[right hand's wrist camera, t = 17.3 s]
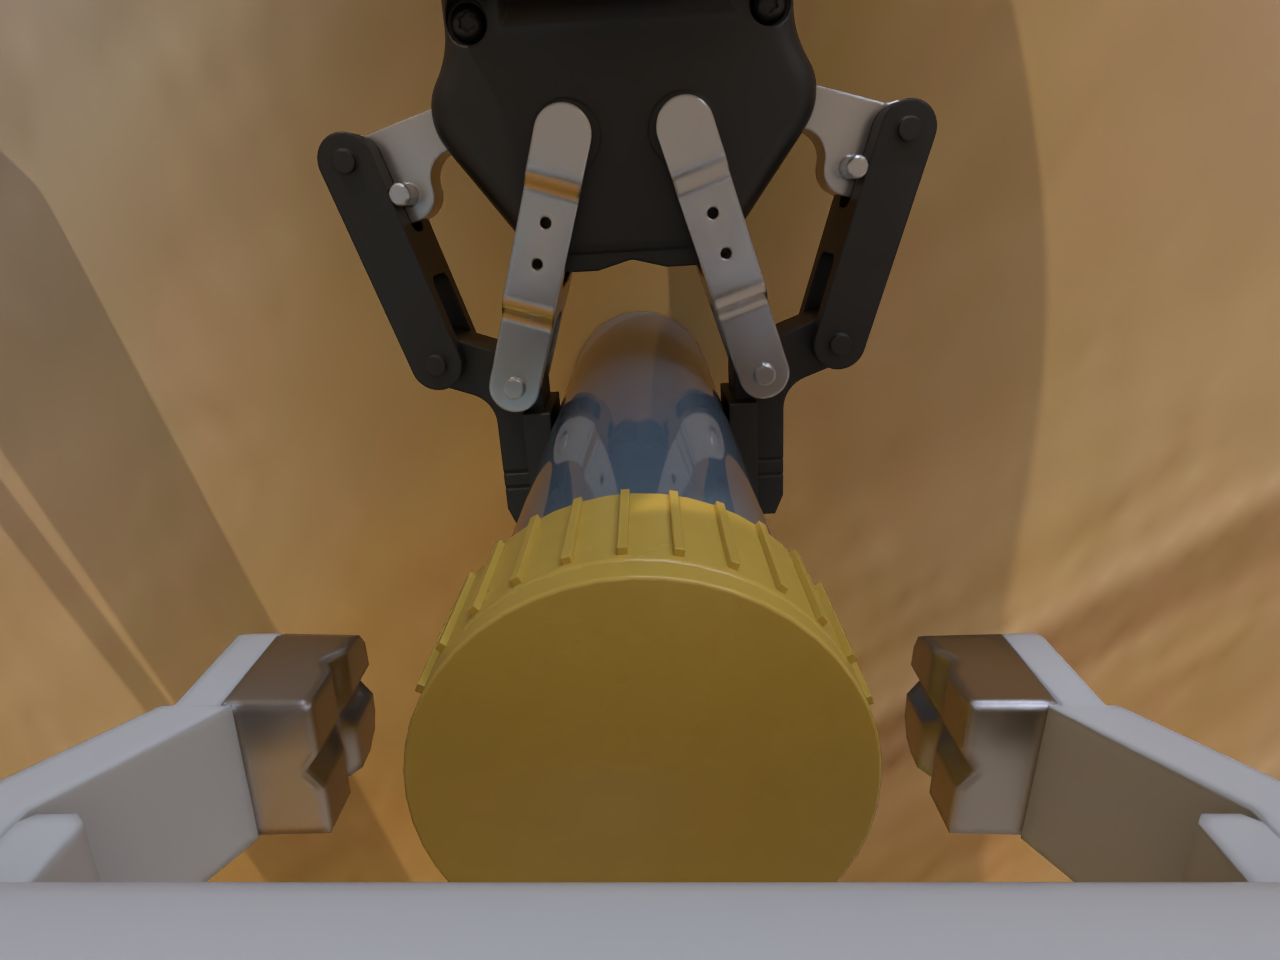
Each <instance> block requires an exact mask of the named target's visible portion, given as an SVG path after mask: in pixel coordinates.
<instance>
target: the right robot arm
mask: <svg viewBox="0 0 1280 960" xmlns="http://www.w3.org/2000/svg"><path fill="white" fill-rule="evenodd" d="M368 665H369V662H368V657H367V651H366V645H365V642H364V641H363V639H362V638H361V637H360V636H359V635H322V634H281V633H262V634H244V635H239V636H237V637H236V638H235V640H234V641H233V642H232V643H231V644H230V645H229V646H228V647H227V648H226V649H225V650H224V652H223V653H222V654H221V655H220V656H219V657H218V658H217V659H216V660H215V661H214V663H213V664H212V665H211V666H210V667H209V668H208V669H207V670H206V671H205V672H204V673H203V675H202V676H201V677H200V678H199V679H198V680H197V681H196V682H195V683H194V684H193V685H192V687H191V688H190V689H189V690H188V691H187V692H186V693H185V694H184V695H183V696H182V697H181V699H180V700H179V701H178V702H177V703H176V704H175V705H174V706H160V707H157V708H155V709H153V710H151V711H149V712H147V713H144V714H142V715H140V716H138V717H136V718H134V719H132V720H129V721H127V722H125V723H123V724H121V725H119V726H116V727H114V728H112V729H110V730H108V731H106V732H104V733H101V734H99V735H97V736H95V737H93V738H91V739H88V740H86V741H84V742H82V743H80V744H78V745H76V746H73V747H71V748H69V749H67V750H65V751H63V752H60V753H58V754H56V755H54V756H52V757H50V758H47V759H45V760H43V761H41V762H39V763H37V764H35V765H32V766H30V767H28V768H26V769H24V770H22V771H19V772H17V773H15V774H13V775H11V776H9V777H7V778H4V779H2V780H0V960H1280V781H1279V780H1277V779H1275V778H1273V777H1271V776H1269V775H1267V774H1264V773H1262V772H1260V771H1258V770H1256V769H1254V768H1252V767H1249V766H1247V765H1245V764H1243V763H1241V762H1239V761H1236V760H1234V759H1232V758H1230V757H1228V756H1226V755H1224V754H1221V753H1219V752H1217V751H1215V750H1213V749H1211V748H1209V747H1206V746H1204V745H1202V744H1200V743H1198V742H1196V741H1194V740H1191V739H1189V738H1187V737H1185V736H1183V735H1181V734H1178V733H1176V732H1174V731H1172V730H1170V729H1168V728H1166V727H1163V726H1161V725H1159V724H1157V723H1155V722H1153V721H1151V720H1148V719H1146V718H1144V717H1142V716H1140V715H1138V714H1135V713H1133V712H1131V711H1129V710H1127V709H1125V708H1123V707H1120V706H1106V705H1105V704H1104V703H1103V702H1102V701H1101V700H1100V699H1099V697H1098V696H1097V695H1096V694H1095V693H1094V692H1093V691H1092V690H1091V689H1090V688H1089V687H1088V685H1087V684H1086V683H1085V682H1084V681H1083V680H1082V679H1081V678H1080V677H1079V676H1078V675H1077V673H1076V672H1075V671H1074V670H1073V669H1072V668H1071V667H1070V666H1069V665H1068V664H1067V662H1066V661H1065V660H1064V659H1063V658H1062V657H1061V656H1060V655H1059V654H1058V653H1057V652H1056V650H1055V649H1054V648H1053V647H1052V646H1051V645H1050V644H1049V643H1048V642H1047V641H1046V640H1045V638H1044V637H1042V636H1040V635H1038V634H1035V633H1018V634H988V635H948V636H921V637H918V638H917V641H916V643H915V646H914V649H913V656H912V662H911V665H912V667H913V669H914V671H915V673H916V674H917V676H918V678H919V680H920V681H919V682H918V683H917V684H916V685H915V686H914V687H913V688H912V689H911V690H910V691H909V692H908V693H907V699H906V709H905V725H906V737H907V741H908V744H909V748H910V752H911V754H912V756H913V759H914V761H915V763H916V765H917V767H918V768H920V769H921V770H923V771H924V772H925V773H927V774H928V775H930V776H931V777H932V779H931V786H930V794H931V796H932V798H933V800H934V802H935V805H936V807H937V809H938V811H939V813H940V815H941V817H942V819H943V821H944V823H945V825H946V827H947V829H948V831H949V833H978V834H1014V835H1021V839H1023V840H1024V841H1025V842H1026V843H1028V844H1029V845H1030V846H1031V847H1032V848H1034V849H1035V850H1036V851H1037V852H1039V853H1040V854H1041V855H1042V856H1043V857H1045V858H1046V859H1047V860H1048V861H1050V862H1051V863H1052V864H1053V865H1054V866H1056V867H1057V868H1058V869H1059V870H1060V871H1062V872H1063V873H1064V874H1065V875H1067V876H1068V877H1069V878H1070V879H1071V880H1073V881H1074V882H206V881H208V880H209V879H210V878H211V877H212V876H214V875H215V874H216V873H217V872H219V871H220V870H221V869H222V868H223V867H225V866H226V865H227V864H228V863H230V862H231V861H232V860H233V859H234V858H236V857H237V856H238V855H239V854H241V853H242V852H243V851H244V850H245V849H247V848H248V847H249V846H250V845H252V844H253V843H254V842H255V841H256V840H258V839H259V835H265V834H300V833H331V831H332V829H333V827H334V825H335V823H336V821H337V819H338V817H339V815H340V813H341V811H342V809H343V807H344V805H345V803H346V800H347V798H348V796H349V794H350V786H349V779H348V777H349V776H350V775H352V774H353V773H355V772H356V771H357V770H359V769H360V768H362V767H363V765H364V763H365V761H366V759H367V756H368V754H369V752H370V749H371V744H372V739H373V734H374V729H375V706H374V698H373V693H372V692H371V691H370V690H369V689H368V688H367V687H366V686H365V685H364V684H363V683H362V682H361V681H360V680H361V678H362V676H363V674H364V673H365V671H366V669H367V667H368Z"/></svg>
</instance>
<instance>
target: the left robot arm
mask: <svg viewBox="0 0 1280 960" xmlns="http://www.w3.org/2000/svg"><path fill="white" fill-rule="evenodd" d="M441 1H442V10H443V18H444V26H445V52H444V59H443V64H442V68H441V71H440V74H439V77H438V79H437V82H436V84H435V87H434V90H433V94H432V102H431V109H430V110H428V111H425V112H423V113H420V114H418V115H415V116H413V117H410V118H408V119H405V120H403V121H400V122H398V123H395V124H393V125H390V126H388V127H385V128H383V129H380V130H378V131H375V132H373V133H370V134H368V135H358V134H353V133H348V132H336V133H333V134H330V135H329V136H327V137H326V138H325V139H324V140H323V141H322V143H321V145H320V147H319V150H318V156H317V159H318V166H319V169H320V172H321V174H322V176H323V178H324V180H325V182H326V185H327V187H328V189H329V191H330V193H331V195H332V198H333V200H334V202H335V204H336V206H337V209H338V211H339V213H340V215H341V217H342V219H343V222H344V224H345V226H346V228H347V230H348V232H349V235H350V237H351V239H352V241H353V243H354V245H355V248H356V250H357V252H358V254H359V256H360V259H361V261H362V263H363V265H364V267H365V269H366V272H367V274H368V276H369V278H370V280H371V282H372V285H373V287H374V289H375V291H376V293H377V295H378V298H379V300H380V302H381V304H382V306H383V309H384V311H385V313H386V315H387V317H388V319H389V322H390V324H391V326H392V328H393V330H394V332H395V335H396V337H397V339H398V341H399V343H400V346H401V348H402V350H403V352H404V354H405V356H406V359H407V361H408V363H409V365H410V367H411V369H412V372H413V374H414V376H415V377H416V379H417V380H418V381H419V382H420V383H421V384H422V385H424V386H425V387H428V388H430V389H434V390H443V389H447V388H452V389H455V390H459V391H462V392H466V393H469V394H473V395H475V396H478V397H480V398H482V399H483V400H485V401H486V402H487V403H488V404H489V405H490V406H491V408H492V409H493V411H494V412H495V415H496V417H497V421H498V429H499V437H500V445H501V453H502V462H503V470H504V478H505V486H506V494H507V503H508V509H509V511H510V513H511V514H512V516H513V518H514V520H515V521H516V523H517V521H518V519H519V516H520V513H521V511H522V508H523V505H524V502H525V500H526V497H527V494H528V492H529V489H530V486H531V484H532V481H533V478H534V476H535V473H536V470H537V468H538V465H539V462H540V459H541V457H542V454H543V451H544V449H545V446H546V443H547V441H548V438H549V435H550V433H551V430H552V427H553V425H554V422H555V419H556V416H557V414H558V411H559V408H560V400H559V392H550V385H549V373H550V368H551V364H552V359H553V355H554V350H555V346H556V341H557V336H558V332H559V327H560V323H561V318H562V314H563V310H564V306H565V303H566V299H567V295H568V291H569V287H570V282H571V278H572V273H573V272H583V271H599V270H601V269H604V268H607V267H610V266H613V265H616V264H619V263H622V262H625V261H628V260H638V261H643V262H648V263H652V264H657V265H662V266H666V267H669V266H686V265H696V268H697V271H698V274H699V276H700V279H701V282H702V285H703V288H704V291H705V293H706V296H707V299H708V301H709V304H710V307H711V309H712V312H713V315H714V318H715V321H716V324H717V327H718V330H719V333H720V336H721V339H722V342H723V344H724V347H725V350H726V353H727V356H728V371H729V383H721V404H722V406H723V409H724V411H725V414H726V417H727V419H728V422H729V425H730V427H731V430H732V433H733V435H734V438H735V440H736V443H737V446H738V448H739V451H740V454H741V456H742V459H743V462H744V464H745V467H746V469H747V472H748V475H749V477H750V480H751V483H752V485H753V488H754V491H755V493H756V496H757V498H758V501H759V504H760V506H761V509H762V512H763V514H767V513H775V512H776V510H777V507H778V505H779V503H780V500H781V498H782V495H783V405H784V400H785V397H786V394H787V393H788V391H789V389H790V388H791V387H792V386H793V385H794V384H795V383H796V382H797V381H799V380H800V379H802V378H804V377H806V376H809V375H811V374H814V373H816V372H819V371H821V370H823V369H826V368H828V367H829V368H832V369H844V368H847V367H849V366H851V365H853V364H854V363H855V362H857V361H858V360H859V358H860V357H861V355H862V354H863V351H864V349H865V346H866V343H867V340H868V337H869V334H870V331H871V328H872V325H873V322H874V319H875V316H876V313H877V310H878V307H879V304H880V301H881V298H882V295H883V292H884V288H885V285H886V282H887V279H888V276H889V273H890V270H891V267H892V264H893V261H894V258H895V255H896V252H897V249H898V246H899V243H900V240H901V237H902V234H903V231H904V228H905V225H906V222H907V219H908V216H909V213H910V210H911V207H912V204H913V201H914V198H915V195H916V192H917V189H918V186H919V183H920V180H921V177H922V174H923V171H924V168H925V165H926V162H927V159H928V156H929V153H930V150H931V147H932V144H933V141H934V138H935V134H936V130H937V120H936V116H935V113H934V111H933V109H932V108H931V107H930V106H929V104H927V103H926V102H925V101H923V100H921V99H917V98H907V99H903V100H898V101H894V102H890V103H884V102H880V101H876V100H872V99H868V98H864V97H861V96H857V95H853V94H849V93H845V92H842V91H838V90H834V89H830V88H826V87H823V86H819V85H816V79H815V74H814V71H813V68H812V65H811V63H810V61H809V59H808V58H807V56H806V54H805V52H804V50H803V48H802V46H801V43H800V40H799V37H798V34H797V30H796V26H795V21H794V12H793V0H441ZM801 133H803V134H804V135H806V136H807V137H808V138H809V139H810V140H811V141H812V142H813V144H814V146H815V149H816V153H817V162H816V178H817V181H818V183H819V185H820V187H821V188H822V189H823V190H824V191H825V192H827V193H829V194H831V195H834V198H833V201H832V205H831V208H830V211H829V215H828V218H827V221H826V225H825V228H824V231H823V235H822V238H821V241H820V245H819V248H818V251H817V255H816V258H815V262H814V265H813V268H812V272H811V275H810V278H809V282H808V285H807V288H806V292H805V295H804V298H803V302H802V305H801V309H800V312H799V314H798V315H796V316H794V317H791V318H789V319H787V320H784V321H782V322H780V323H777V324H775V322H774V318H773V315H772V312H771V309H770V306H769V302H768V299H767V291H766V286H765V283H764V279H763V276H762V273H761V270H760V266H759V263H758V260H757V257H756V254H755V251H754V248H753V244H752V241H751V238H750V235H749V232H748V229H747V225H746V222H745V219H746V217H747V216H748V214H749V213H750V211H751V209H752V208H753V206H754V205H755V203H756V202H757V200H758V199H759V197H760V196H761V194H762V193H763V191H764V190H765V188H766V187H767V185H768V184H769V182H770V180H771V179H772V177H773V176H774V174H775V173H776V171H777V170H778V168H779V167H780V165H781V164H782V162H783V161H784V159H785V158H786V156H787V154H788V153H789V151H790V150H791V148H792V147H793V145H794V144H795V142H796V141H797V139H798V138H799V136H800V135H801ZM451 155H452V156H453V157H454V158H455V160H456V161H457V162H458V163H459V164H460V166H461V167H462V168H463V169H464V171H465V172H466V173H467V174H468V175H469V177H470V178H471V179H472V180H473V181H474V183H475V184H476V185H477V186H478V187H479V189H480V190H481V191H482V192H483V193H484V195H485V196H486V197H487V198H488V199H489V201H490V202H491V203H492V204H493V205H494V207H495V208H496V209H497V210H498V211H499V213H500V214H501V215H502V216H503V217H504V219H505V220H506V221H507V222H508V223H509V225H510V226H511V227H512V228H513V230H514V231H515V237H514V242H513V247H512V252H511V258H510V263H509V268H508V273H507V278H506V284H505V289H504V294H503V301H502V320H501V325H500V331H499V336H498V339H495V338H492V337H488V336H485V335H482V334H478V333H476V330H475V328H474V326H473V323H472V321H471V319H470V316H469V314H468V312H467V309H466V307H465V305H464V302H463V300H462V297H461V295H460V293H459V290H458V288H457V286H456V283H455V281H454V279H453V276H452V274H451V272H450V269H449V267H448V264H447V262H446V260H445V257H444V255H443V253H442V250H441V248H440V246H439V243H438V241H437V238H436V236H435V234H434V231H433V229H432V227H431V224H430V222H429V220H428V219H430V218H432V217H434V216H435V215H436V214H437V213H438V212H439V210H440V209H441V206H442V203H443V190H442V186H441V182H440V173H441V168H442V166H443V164H444V162H445V161H446V159H447V158H448V157H449V156H451Z"/></svg>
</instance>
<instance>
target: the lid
mask: <svg viewBox="0 0 1280 960" xmlns="http://www.w3.org/2000/svg"><path fill="white" fill-rule="evenodd" d="M856 661H857V659H856V657H855V654H854V652H853V650H852V648H851V646H850V644H849V641H848V639H847V637H846V635H845V633H844V631H843V628H842V626H841V624H840V622H839V620H838V617H837V615H836V613H835V611H834V609H833V607H832V604H831V602H830V600H829V598H828V596H827V594H826V591H825V589H824V587H823V585H822V584H821V582H819V583H817V584H815V585H814V583H813V581H812V579H811V578H810V576H809V575H808V573H807V570H806V568H805V566H804V563H803V561H802V559H801V557H800V554H799V553H798V552H797V551H796V550H795V549H792V550H791V551H790V552H789V551H788V550H787V549H786V548H785V547H784V546H783V545H782V544H781V543H780V542H779V541H777V540H776V539H775V538H773V537H772V536H771V535H769V533H768V530H767V528H766V525H765V524H763V523H762V522H760V521H758V522H757V524H756V525H755V524H753V523H751V522H750V521H748V520H746V519H745V518H743V517H741V516H739V515H737V514H735V513H733V512H730V511H728V510H726V508H725V504H724V503H721V502H719V501H716V503H715V505H713V504H709V503H706V502H702V501H698V500H695V499H691V498H687V497H680V496H678V491H672V490H669V494H668V495H666V494H650V493H630V490H629V489H621V490H620V495H610V496H604V497H599V498H595V499H590V500H586V501H583V499H582V497H578V498H575V499H573V503H572V505H570V506H567V507H564V508H562V509H559V510H556V511H554V512H552V513H550V514H548V515H546V516H544V517H542V518H540V517H539V516H538V514H537V515H535V516H533V517H531V518H530V521H529V523H528V526H527V527H525V528H524V529H522V530H521V531H519V532H518V533H517V534H515V535H514V536H512V537H511V538H510V539H509V540H507V541H506V542H505V543H503V542H502V541H501V540H499V541H498V542H497V543H496V544H494V547H493V549H492V552H491V554H490V556H489V559H488V560H487V562H486V563H485V564H484V565H483V567H482V568H481V569H480V570H479V571H478V573H477V574H474V573H472V572H470V574H469V575H468V577H467V579H466V581H465V583H464V585H463V587H462V590H461V592H460V594H459V596H458V599H457V601H456V603H455V605H454V607H453V608H452V609H451V611H450V613H449V615H448V617H447V620H446V622H445V624H444V626H443V628H442V631H441V633H440V635H439V637H438V640H437V642H436V644H435V646H434V648H433V651H432V653H431V655H430V657H429V659H428V662H427V664H426V666H425V668H424V670H423V673H422V675H421V677H420V679H419V682H418V684H417V687H416V690H415V691H416V692H420V693H422V694H421V696H420V698H419V701H418V703H417V706H416V708H415V711H414V713H413V715H412V718H411V721H410V724H409V727H408V734H407V738H406V743H405V752H404V768H403V773H404V782H405V792H406V799H407V803H408V806H409V810H410V814H411V818H412V822H413V824H414V826H415V829H416V831H417V833H418V836H419V838H420V840H421V842H422V845H423V846H424V848H425V850H426V851H427V853H428V855H429V856H430V858H431V859H432V861H433V863H434V864H435V866H436V867H437V868H438V870H439V871H440V872H441V873H442V874H443V876H444V877H445V878H446V879H447V881H448V882H837V881H838V880H839V879H840V878H841V876H842V875H843V874H844V873H845V871H846V870H847V869H848V867H849V866H850V864H851V863H852V861H853V860H854V858H855V857H856V856H857V854H858V852H859V850H860V848H861V846H862V844H863V843H864V841H865V839H866V837H867V835H868V833H869V831H870V827H871V824H872V821H873V818H874V815H875V812H876V809H877V806H878V799H879V793H880V787H881V781H882V754H881V748H880V742H879V736H878V730H877V726H876V724H875V721H874V718H873V715H872V712H871V709H870V706H869V705H870V704H873V699H872V696H871V693H870V691H869V689H868V687H867V685H866V682H865V680H864V678H863V676H862V674H861V672H860V669H859V667H858V665H857V663H856Z"/></svg>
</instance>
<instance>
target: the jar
mask: <svg viewBox="0 0 1280 960" xmlns="http://www.w3.org/2000/svg"><path fill="white" fill-rule="evenodd" d="M621 489H629V490H630V493H650V494H666V495H668V494H669V490H672V491H678V496H680V497H687V498H691V499H695V500H698V501H702V502H706V503H709V504H713V505H715V503H716V501H719V502H721V503H724V504H725V508H726V510H728V511H730V512H733V513H735V514H737V515H739V516H741V517H743V518H745V519H746V520H748V521H750V522H751V523H753V524H755V525H756V524H757V522H758V521H760V522H762V523H763V524H765V525H766V528H767V530H768V533H769V535H771V533H770V530H769V527H768V525H767V522H766V520H765V517H764V514H763V512H762V509H761V506H760V504H759V501H758V498H757V496H756V493H755V491H754V488H753V485H752V483H751V480H750V477H749V475H748V472H747V469H746V467H745V464H744V462H743V459H742V456H741V454H740V451H739V448H738V446H737V443H736V440H735V438H734V435H733V433H732V430H731V427H730V425H729V422H728V419H727V417H726V414H725V411H724V409H723V406H722V404H721V401H720V398H719V396H718V393H717V390H716V388H715V385H714V382H713V380H712V377H711V375H710V372H709V369H708V367H707V364H706V361H705V359H704V356H703V353H702V351H701V349H700V347H699V345H698V343H697V341H696V340H695V339H694V337H693V336H692V335H691V334H690V333H689V332H688V330H687V329H686V328H684V327H683V326H682V325H681V324H679V323H678V322H676V321H674V320H673V319H671V318H668V317H666V316H664V315H660V314H657V313H652V312H631V313H626V314H622V315H619V316H616V317H614V318H612V319H610V320H608V321H606V322H605V323H603V324H602V325H601V326H599V327H598V328H597V329H596V330H595V331H594V332H593V333H592V334H591V335H590V337H589V338H588V339H587V341H586V342H585V344H584V346H583V348H582V350H581V352H580V355H579V357H578V360H577V363H576V365H575V368H574V371H573V373H572V376H571V379H570V381H569V384H568V387H567V390H566V392H565V395H564V398H563V400H562V403H561V406H560V408H559V411H558V414H557V416H556V419H555V422H554V425H553V427H552V430H551V433H550V435H549V438H548V441H547V443H546V446H545V449H544V451H543V454H542V457H541V459H540V462H539V465H538V468H537V470H536V473H535V476H534V478H533V481H532V484H531V486H530V489H529V492H528V494H527V497H526V500H525V502H524V505H523V508H522V511H521V513H520V516H519V519H518V521H517V524H516V527H515V529H514V532H513V535H512V536H514V535H515V534H517V533H518V532H519V531H521V530H522V529H524V528H525V527H527V526H528V523H529V521H530V518H531V517H533V516H535V515H537V514H538V516H539V517H540V518H542V517H544V516H546V515H548V514H550V513H552V512H554V511H556V510H559V509H562V508H564V507H567V506H570V505H572V503H573V499H575V498H578V497H582V499H583V501H586V500H590V499H595V498H599V497H604V496H610V495H620V490H621ZM771 536H772V535H771Z"/></svg>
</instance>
